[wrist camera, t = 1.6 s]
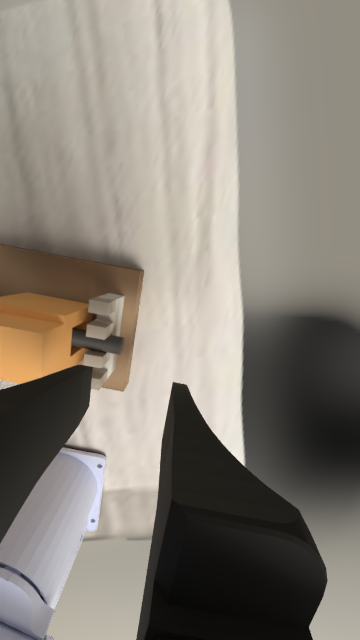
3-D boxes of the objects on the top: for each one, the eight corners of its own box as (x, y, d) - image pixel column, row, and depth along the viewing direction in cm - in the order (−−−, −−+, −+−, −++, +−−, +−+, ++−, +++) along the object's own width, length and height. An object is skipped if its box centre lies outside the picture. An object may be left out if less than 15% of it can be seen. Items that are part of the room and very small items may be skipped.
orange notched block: (88, 354, 18) (40, 395, 12) (26, 342, 18) (-52, 378, 12) (93, 304, 17) (43, 324, 11) (28, 292, 17) (-56, 305, 11)
